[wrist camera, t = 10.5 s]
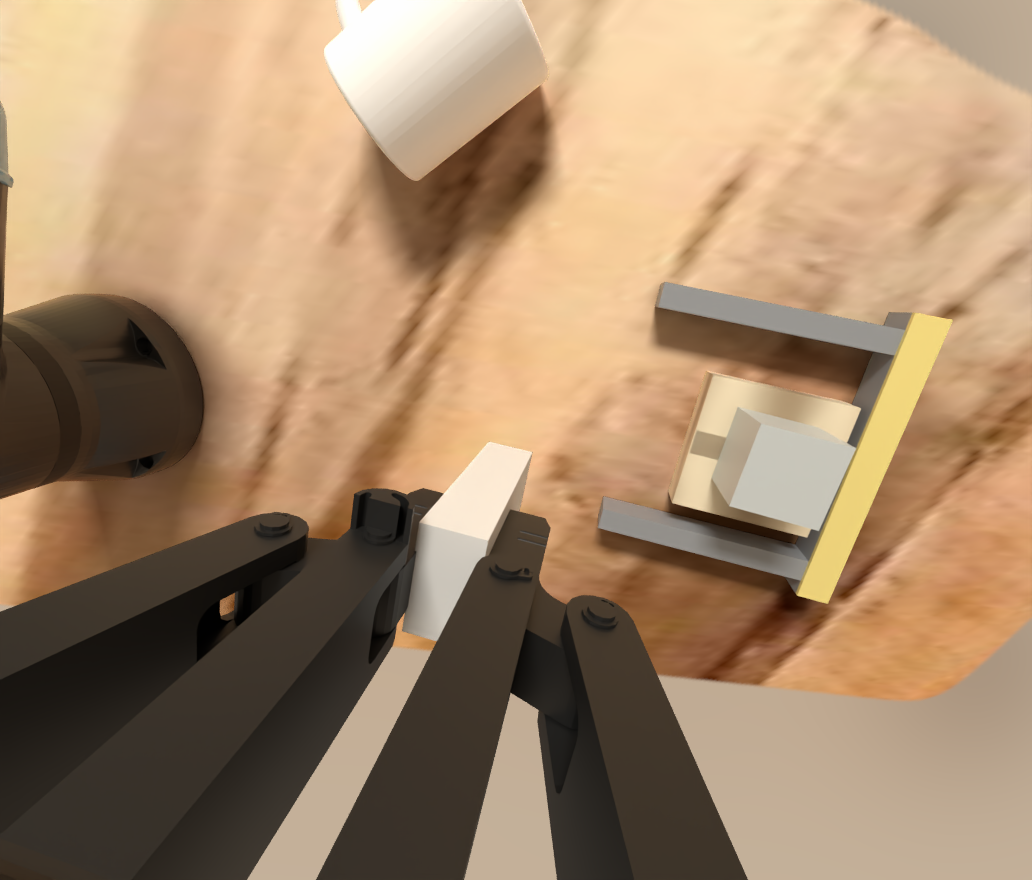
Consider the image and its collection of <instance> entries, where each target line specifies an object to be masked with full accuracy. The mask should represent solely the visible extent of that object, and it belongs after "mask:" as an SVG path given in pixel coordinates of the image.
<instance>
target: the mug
mask: <svg viewBox="0 0 1032 880" xmlns="http://www.w3.org/2000/svg"><path fill="white" fill-rule="evenodd" d="M336 9H337V15H338V19H339V23H340V26H341V29H342V32H341V33H339V34H338V35H337V36H336V37H335V38H334V39H333V40H332V41H331V42H330V43H329V44H328V45H327V46H326V47H325V49H324V57H325V61H326V64H327V66H328V69H329V71H330V73H331V75H332V77H333V79H334V81H335V83H336V85H337V86H338V88H339V90H340V92H341V93H342V95H343V97H344V98H345V100H346V101H347V103H348V105H349V106H350V108H351V109H352V111H353V112H354V114H355V115H356V117H357V118H358V120H359V121H360V122H361V124H362V125H363V127H364V128H365V129H366V131H367V132H368V133H369V135H370V136H371V137H372V139H373V140H374V141H375V143H376V144H377V145H378V146H379V148H380V149H381V150H382V151H383V153H384V154H385V155H386V156H387V157H388V158H389V160H390V161H391V162H392V163H393V164H394V165H395V166H396V167H397V168H398V169H399V170H400V171H401V172H402V173H403V174H404V175H405V176H407V177H408V178H410V179H411V180H414V181H419V180H420V179H422V178H423V177H424V176H425V175H427V174H428V173H429V172H431V171H432V170H433V169H434V168H436V167H437V166H438V165H439V164H441V163H442V162H443V161H445V160H446V159H447V158H448V157H450V156H451V155H452V154H453V153H455V152H456V151H457V150H459V149H460V148H461V147H462V146H464V145H465V144H466V143H467V142H469V141H470V140H471V139H473V138H474V137H475V136H476V135H478V134H479V133H480V132H481V131H483V130H484V129H485V128H487V127H488V126H489V125H490V124H492V123H493V122H494V121H495V120H497V119H498V118H499V117H501V116H502V115H503V114H504V113H506V112H507V111H508V110H509V109H511V108H512V107H513V106H515V105H516V104H517V103H518V102H520V101H521V100H522V99H523V98H525V97H526V96H527V95H529V94H530V93H531V92H532V91H534V90H535V89H536V88H537V87H539V86H540V85H541V84H543V83H544V82H545V81H546V80H547V79H548V77H549V69H548V65H547V61H546V58H545V55H544V53H543V50H542V47H541V45H540V42H539V40H538V37H537V35H536V32H535V30H534V27H533V25H532V23H531V21H530V18H529V16H528V14H527V12H526V9H525V7H524V5H523V3H522V1H521V0H374V1H373V2H372V3H371V4H370V5H369V6H368V7H367V8H366V9H365V10H364V11H363V12H362V10H361V7H360V3H359V0H336Z"/></svg>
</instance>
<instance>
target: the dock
mask: <svg viewBox="0 0 1032 880" xmlns="http://www.w3.org/2000/svg"><path fill="white" fill-rule="evenodd" d="M655 307H657V308H662V309H667V310H672V311H676V312H681V313H686V314H691V315H696V316H701V317H706V318H710V319H715V320H720V321H725V322H730V323H735V324H740V325H744V326H749V327H754V328H759V329H764V330H769V331H774V332H778V333H783V334H788V335H793V336H798V337H803V338H807V339H812V340H817V341H822V342H827V343H832V344H837V345H841V346H846V347H851V348H856V349H861V350H866V351H871V352H873V354H872V356H871V358H870V361H869V363H868V366H867V368H866V371H865V373H864V376H863V378H862V381H861V383H860V386H859V388H858V391H857V393H856V396H855V398H854V401H853V403H852V405H854V406H856V407H859V408H861V410H860V413H859V415H858V418H857V420H856V422H855V425H854V427H853V430H852V432H851V434H850V437H849V439H848V442H847V443H848V444H849V445H851V446H853V447H855V448H856V450H855V452H854V454H853V457H852V459H851V461H850V463H849V465H848V468H847V470H846V472H845V474H844V476H843V479H842V481H841V483H840V485H839V487H838V490H837V492H836V494H835V496H834V498H833V501H832V503H831V505H830V507H829V509H828V512H827V514H826V516H825V518H824V521H823V523H822V525H821V527H820V529H819V531H817V530H813V529H811V530H810V532H809V535H808V537H807V538H806V537H803V536H799V537H798V539H797V542H796V544H791V543H787V542H783V541H779V540H775V539H771V538H767V537H763V536H759V535H755V534H751V533H747V532H743V531H739V530H735V529H731V528H727V527H723V526H719V525H715V524H711V523H707V522H703V521H699V520H695V519H692V518H688V517H684V516H680V515H676V514H672V513H668V512H664V511H660V510H656V509H652V508H648V507H644V506H640V505H636V504H632V503H628V502H624V501H620V500H616V499H612V498H608V497H604V496H603V499H602V503H601V507H600V511H599V514H598V528H600V529H604V530H608V531H611V532H615V533H619V534H623V535H627V536H631V537H635V538H638V539H642V540H646V541H650V542H654V543H658V544H661V545H665V546H669V547H673V548H677V549H681V550H685V551H688V552H692V553H696V554H700V555H704V556H708V557H711V558H715V559H719V560H723V561H727V562H731V563H735V564H738V565H742V566H746V567H750V568H754V569H758V570H761V571H765V572H769V573H773V574H777V575H781V576H784V577H785V578H786V580H787V581H788V583H789V584H790V586H791V587H792V589H793V590H794V592H795V593H796V595H797V596H800V597H804V598H808V599H812V600H815V601H819V602H823V603H827V604H828V602H829V599H830V597H831V595H832V593H833V590H834V588H835V586H836V584H837V581H838V579H839V577H840V575H841V572H842V570H843V568H844V566H845V563H846V561H847V559H848V556H849V554H850V552H851V550H852V547H853V545H854V543H855V541H856V538H857V536H858V534H859V532H860V529H861V527H862V525H863V523H864V520H865V518H866V516H867V513H868V511H869V509H870V507H871V504H872V502H873V500H874V498H875V495H876V493H877V491H878V489H879V486H880V484H881V482H882V479H883V477H884V475H885V473H886V470H887V468H888V466H889V464H890V461H891V459H892V457H893V455H894V452H895V450H896V448H897V446H898V443H899V441H900V439H901V436H902V434H903V432H904V430H905V427H906V425H907V423H908V421H909V418H910V416H911V414H912V412H913V409H914V407H915V405H916V403H917V400H918V398H919V396H920V393H921V391H922V389H923V387H924V384H925V382H926V380H927V378H928V375H929V373H930V371H931V369H932V366H933V364H934V362H935V359H936V357H937V355H938V353H939V350H940V348H941V346H942V344H943V341H944V339H945V337H946V335H947V332H948V330H949V328H950V326H951V323H952V321H953V320H950V319H945V318H940V317H935V316H930V315H924V314H919V313H893V312H889V314H888V316H887V319H886V321H885V324H884V326H882V325H877V324H872V323H867V322H862V321H857V320H852V319H847V318H842V317H837V316H832V315H827V314H822V313H817V312H812V311H807V310H802V309H797V308H792V307H787V306H782V305H777V304H772V303H767V302H762V301H757V300H752V299H747V298H742V297H737V296H732V295H727V294H722V293H717V292H712V291H707V290H702V289H697V288H692V287H687V286H682V285H677V284H672V283H667V282H664V283H662V284H661V285H660V289H659V293H658V297H657V300H656V304H655Z"/></svg>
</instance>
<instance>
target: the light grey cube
mask: <svg viewBox="0 0 1032 880" xmlns="http://www.w3.org/2000/svg"><path fill="white" fill-rule="evenodd" d="M855 450H856V448H855V447H853V446H851V445H849V444H848V443H846V442H844V441H842V440H840V439H838V438H837V437H835V436H833V435H831V434H829V433H827V432H826V431H824V430H822V429H820V428H818V427H815V426H811V425H807V424H803V423H799V422H795V421H792V420H788V419H784V418H780V417H776V416H772V415H768V414H764V413H760V412H756V411H753V410H749V409H745V408H741V407H738V408H737V411H736V413H735V416H734V419H733V421H732V424H731V427H730V429H729V432H728V435H727V438H726V440H725V443H724V446H723V448H722V451H721V454H720V456H719V459H718V462H717V464H716V467H715V470H714V473H713V475H712V480H713V481H714V483H715V485H716V486H717V488H718V489H719V491H720V492H721V494H722V496H723V497H724V499H725V500H726V502H727V504H728V505H729V506H730V507H734V508H738V509H741V510H745V511H748V512H752V513H756V514H759V515H763V516H766V517H770V518H774V519H777V520H781V521H784V522H788V523H792V524H795V525H799V526H802V527H806V528H810V529H813V530H817V531H819V529H820V527H821V525H822V523H823V521H824V518H825V516H826V514H827V512H828V509H829V507H830V505H831V503H832V501H833V498H834V496H835V494H836V492H837V490H838V487H839V485H840V483H841V481H842V479H843V476H844V474H845V472H846V470H847V468H848V465H849V463H850V461H851V459H852V457H853V454H854V452H855Z"/></svg>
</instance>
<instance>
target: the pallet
mask: <svg viewBox="0 0 1032 880" xmlns="http://www.w3.org/2000/svg"><path fill="white" fill-rule="evenodd" d="M738 407H741V408H745V409H749V410H753V411H756V412H760V413H764V414H768V415H772V416H776V417H780V418H784V419H788V420H792V421H795V422H799V423H803V424H807V425H811V426H815V427H818V428H820V429H822V430H824V431H826V432H827V433H829V434H831V435H833V436H835V437H837V438H838V439H840V440H842V441H844V442H846V443H847V442H848V439H849V437H850V434H851V432H852V430H853V427H854V425H855V422H856V420H857V418H858V415H859V413H860V410H861V408H859V407H856V406H854V405H851V404H849V403H846V402H844V401H840V400H835V399H831V398H826V397H822V396H817V395H813V394H808V393H804V392H800V391H795V390H791V389H786V388H782V387H777V386H773V385H768V384H764V383H759V382H755V381H750V380H746V379H742V378H737V377H733V376H728V375H724V374H719V373H715V372H710V371H706V372H705V376H704V379H703V382H702V385H701V388H700V391H699V394H698V398H697V401H696V404H695V407H694V410H693V413H692V416H691V420H690V423H689V426H688V429H687V432H686V435H685V439H684V442H683V445H682V448H681V451H680V454H679V457H678V461H677V464H676V467H675V470H674V473H673V476H672V479H671V483H670V486H669V489H668V492H669V495H670V498H671V501H672V503H674V504H678V505H682V506H686V507H689V508H693V509H697V510H701V511H705V512H709V513H713V514H717V515H721V516H725V517H728V518H732V519H736V520H740V521H744V522H748V523H752V524H756V525H760V526H764V527H767V528H771V529H775V530H779V531H783V532H787V533H791V534H795V535H799V536H803V537H806V538H807V537H808V535H809V532H810V530H811V529H810V528H806V527H802V526H799V525H795V524H792V523H788V522H784V521H781V520H777V519H774V518H770V517H766V516H763V515H759V514H756V513H752V512H748V511H745V510H741V509H738V508H734V507H730V506H729V505H728V504H727V502H726V500H725V499H724V497H723V496H722V494H721V492H720V491H719V489H718V488H717V486H716V485H715V483H714V481H713V480H712V475H713V473H714V470H715V467H716V464H717V462H718V459H719V456H720V454H721V451H722V448H723V446H724V443H725V440H726V438H727V435H728V432H729V429H730V427H731V424H732V421H733V419H734V416H735V413H736V411H737V408H738Z"/></svg>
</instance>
